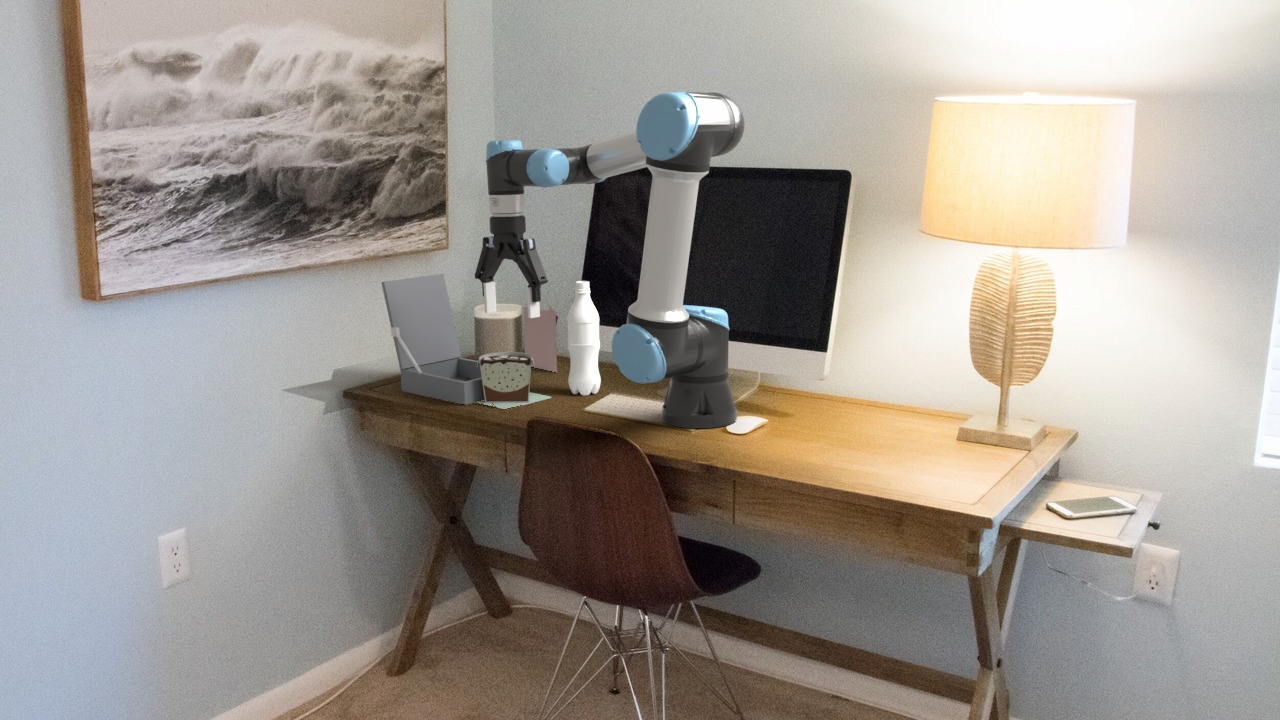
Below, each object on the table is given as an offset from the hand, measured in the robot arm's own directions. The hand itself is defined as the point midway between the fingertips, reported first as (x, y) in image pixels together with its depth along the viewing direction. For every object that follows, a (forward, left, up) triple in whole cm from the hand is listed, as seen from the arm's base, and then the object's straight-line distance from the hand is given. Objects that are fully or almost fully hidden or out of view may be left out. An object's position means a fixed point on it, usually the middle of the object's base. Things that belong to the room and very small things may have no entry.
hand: (512, 314), depth 241 cm
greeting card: (+19, -27, -19) cm, 38 cm away
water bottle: (-7, -15, -19) cm, 25 cm away
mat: (0, 0, -19) cm, 19 cm away
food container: (+1, 0, -19) cm, 19 cm away
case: (+19, +1, -19) cm, 27 cm away
